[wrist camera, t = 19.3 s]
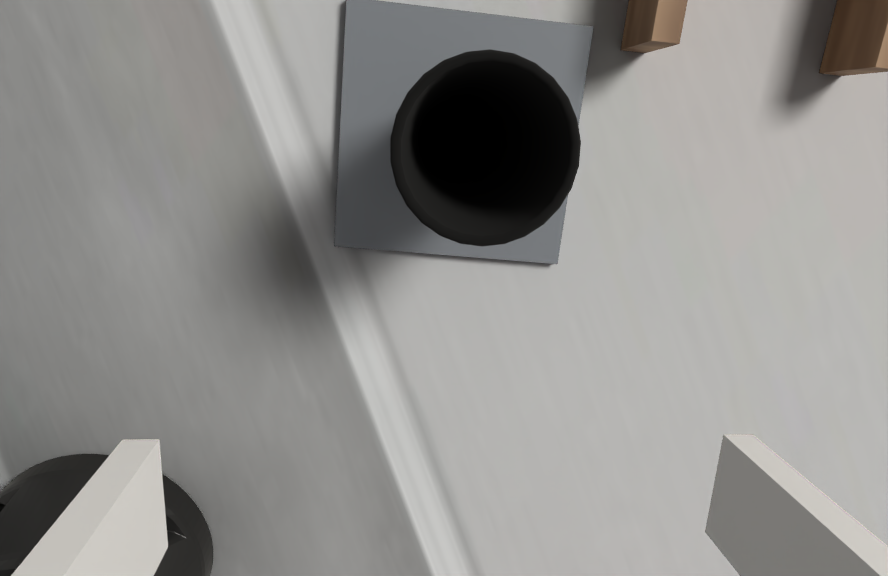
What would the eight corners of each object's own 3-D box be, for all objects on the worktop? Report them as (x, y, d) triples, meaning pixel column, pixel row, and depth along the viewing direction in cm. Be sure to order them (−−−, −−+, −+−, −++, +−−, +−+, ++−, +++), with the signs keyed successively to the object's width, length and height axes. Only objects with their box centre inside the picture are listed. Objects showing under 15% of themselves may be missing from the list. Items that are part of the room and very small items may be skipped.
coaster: (335, 244, 37) (334, 246, 36) (347, -1, 33) (346, -4, 33) (554, 262, 38) (557, 264, 38) (590, 28, 35) (593, 26, 34)
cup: (366, 133, 35) (349, 140, 23) (467, 43, 34) (500, 4, 22) (451, 231, 37) (474, 283, 25) (548, 149, 36) (618, 163, 24)
